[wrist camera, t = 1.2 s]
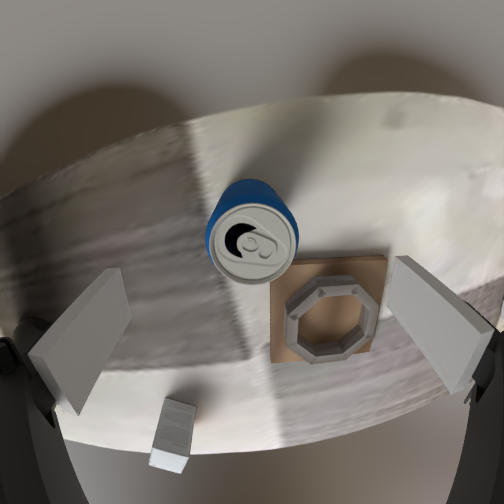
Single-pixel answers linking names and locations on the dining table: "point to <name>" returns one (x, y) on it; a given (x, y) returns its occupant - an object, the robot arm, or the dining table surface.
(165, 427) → the small box
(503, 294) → the dining table surface
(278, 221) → the beverage can
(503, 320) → the bowl
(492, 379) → the robot arm
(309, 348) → the socket
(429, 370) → the dining table surface
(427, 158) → the dining table surface
